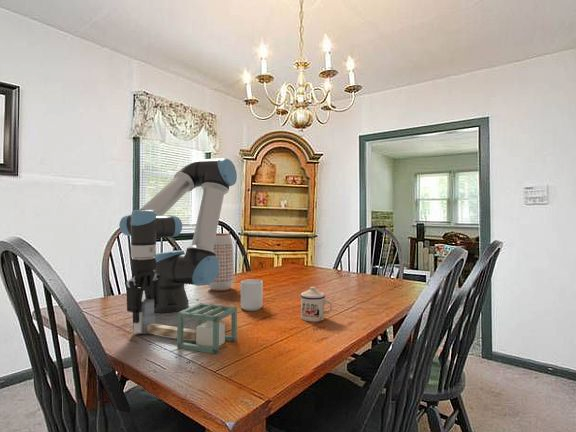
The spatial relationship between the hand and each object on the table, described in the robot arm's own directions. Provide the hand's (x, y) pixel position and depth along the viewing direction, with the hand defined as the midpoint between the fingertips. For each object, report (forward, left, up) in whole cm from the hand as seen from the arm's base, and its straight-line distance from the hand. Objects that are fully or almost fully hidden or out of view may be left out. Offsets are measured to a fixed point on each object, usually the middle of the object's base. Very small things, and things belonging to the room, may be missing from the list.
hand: (143, 329), depth 115 cm
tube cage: (+24, 0, -1) cm, 24 cm away
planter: (-11, +65, -1) cm, 66 cm away
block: (+25, 0, -1) cm, 25 cm away
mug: (+19, +41, -1) cm, 46 cm away
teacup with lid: (+48, +36, -1) cm, 60 cm away
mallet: (+9, 0, 0) cm, 9 cm away
